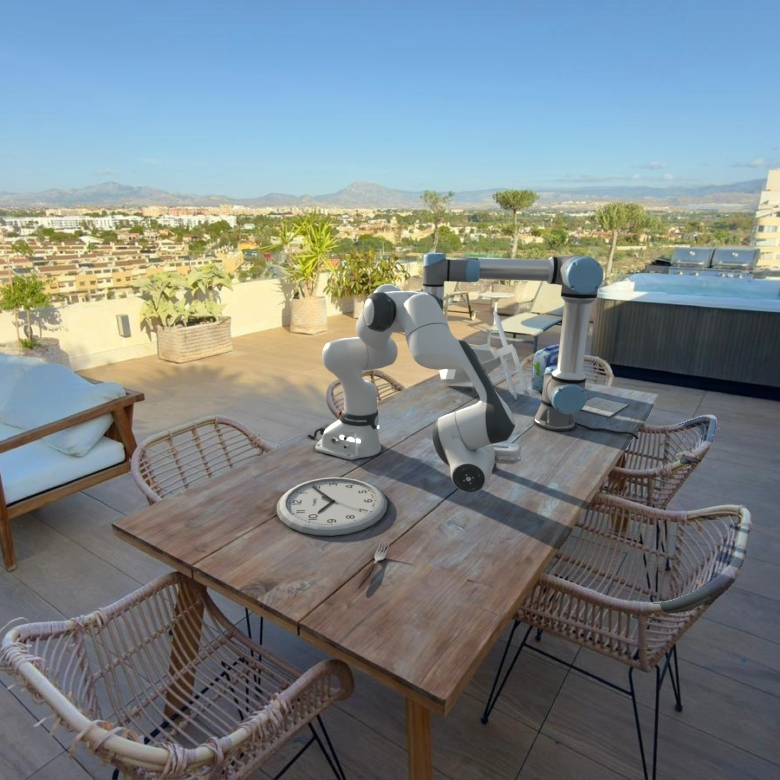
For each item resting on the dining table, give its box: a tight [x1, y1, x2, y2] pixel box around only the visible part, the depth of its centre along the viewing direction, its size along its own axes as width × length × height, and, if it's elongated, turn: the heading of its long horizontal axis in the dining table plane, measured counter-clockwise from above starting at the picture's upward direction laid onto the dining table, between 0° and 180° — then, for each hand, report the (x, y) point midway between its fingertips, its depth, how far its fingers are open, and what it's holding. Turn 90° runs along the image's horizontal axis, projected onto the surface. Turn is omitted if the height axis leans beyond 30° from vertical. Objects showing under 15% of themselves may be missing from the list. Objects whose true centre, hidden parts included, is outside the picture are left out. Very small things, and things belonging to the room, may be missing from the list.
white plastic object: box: [438, 310, 531, 400], centre depth 245 cm, size 37×45×31 cm
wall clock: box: [276, 476, 388, 537], centre depth 142 cm, size 30×2×30 cm
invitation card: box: [580, 396, 629, 418], centre depth 226 cm, size 21×1×15 cm
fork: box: [357, 541, 391, 589], centre depth 116 cm, size 3×16×2 cm, turn 160°
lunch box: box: [530, 344, 560, 393], centre depth 247 cm, size 26×11×21 cm, turn 134°
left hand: (483, 441), depth 141 cm, fingers open, 8 cm apart
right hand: (430, 357), depth 190 cm, fingers open, 13 cm apart
